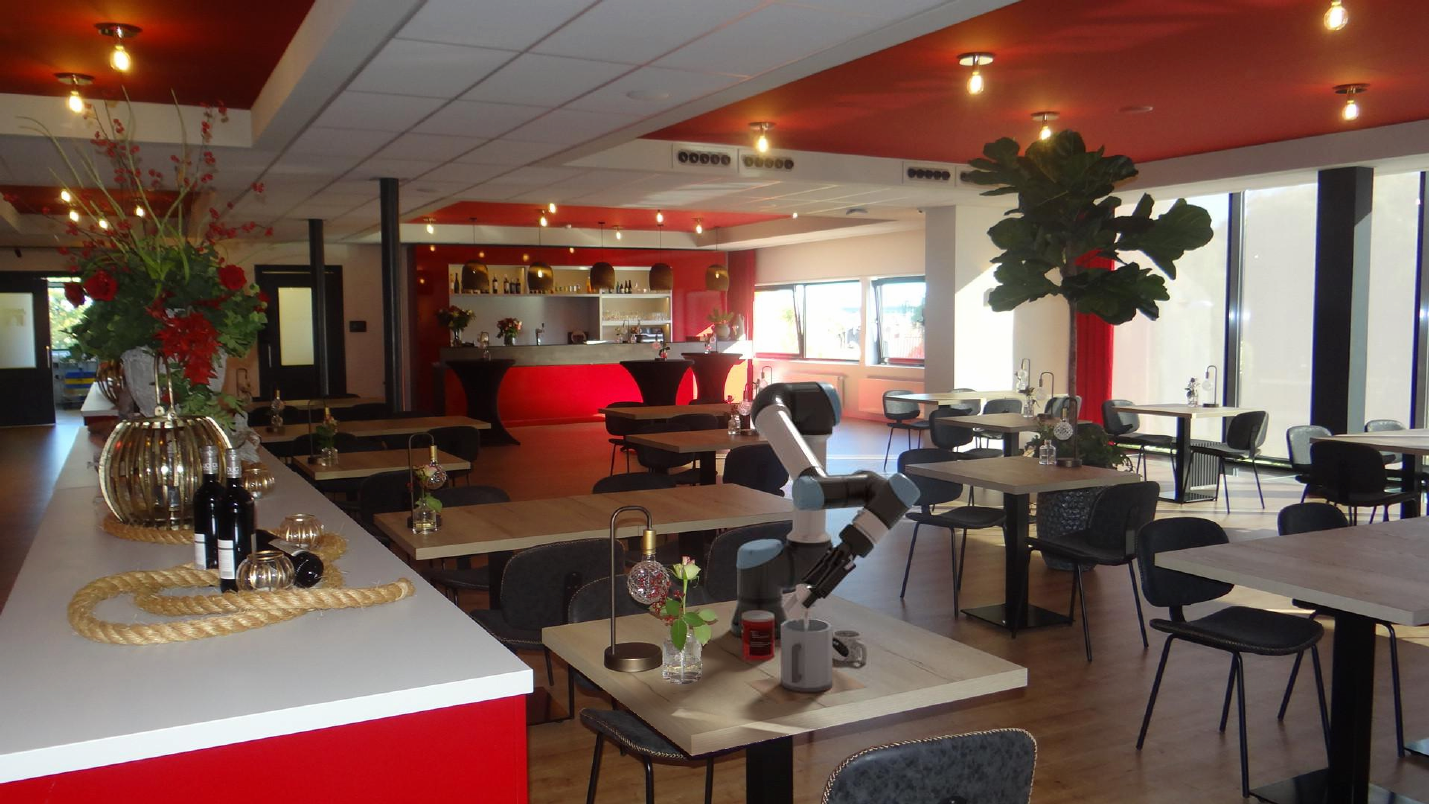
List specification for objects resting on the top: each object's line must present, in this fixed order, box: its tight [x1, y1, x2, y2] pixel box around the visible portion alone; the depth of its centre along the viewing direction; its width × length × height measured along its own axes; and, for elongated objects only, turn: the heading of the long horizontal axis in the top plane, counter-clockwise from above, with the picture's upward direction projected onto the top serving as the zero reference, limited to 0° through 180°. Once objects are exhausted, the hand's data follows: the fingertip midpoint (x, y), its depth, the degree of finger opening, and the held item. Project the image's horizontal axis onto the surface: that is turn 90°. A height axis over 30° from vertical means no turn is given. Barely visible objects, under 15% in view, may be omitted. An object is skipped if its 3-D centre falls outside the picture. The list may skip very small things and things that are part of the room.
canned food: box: [741, 610, 775, 662], centre depth 236 cm, size 8×8×11 cm
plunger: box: [795, 584, 818, 632], centre depth 215 cm, size 8×8×18 cm
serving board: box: [746, 667, 868, 704], centre depth 215 cm, size 22×14×1 cm, turn 115°
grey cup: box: [780, 617, 833, 694], centre depth 214 cm, size 11×14×13 cm
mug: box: [832, 629, 868, 665], centre depth 233 cm, size 10×7×7 cm
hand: (789, 613), depth 214 cm, fingers closed on plunger, 4 cm apart
